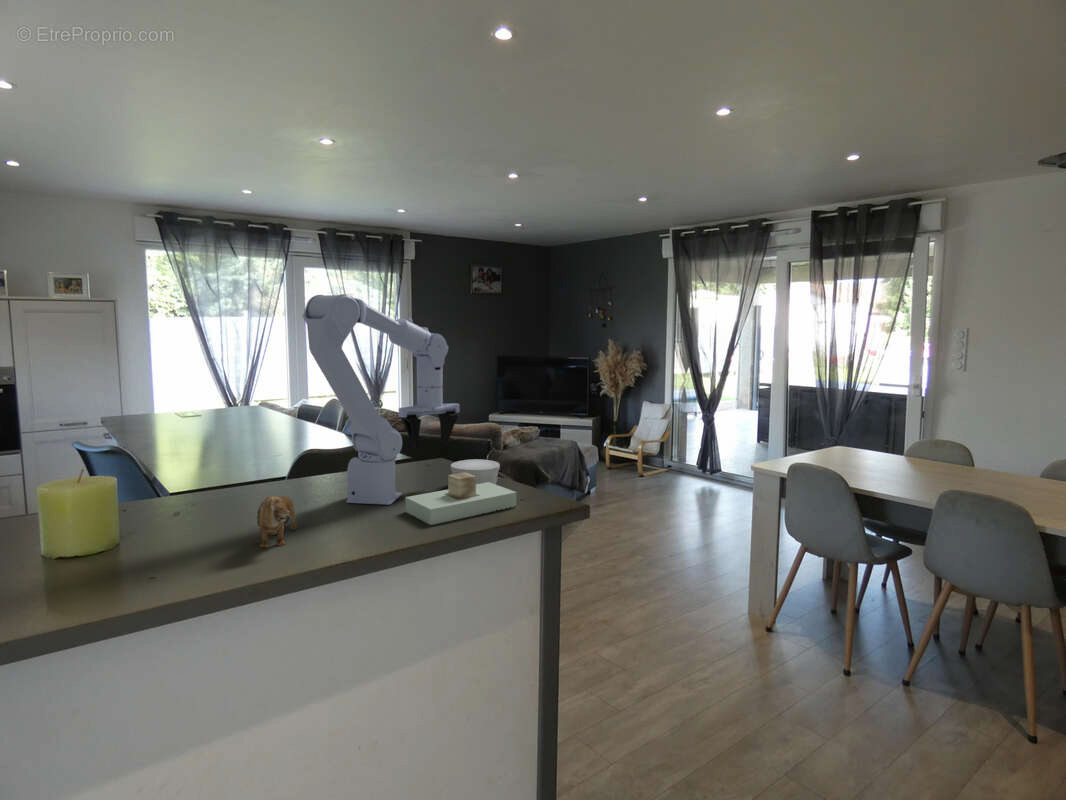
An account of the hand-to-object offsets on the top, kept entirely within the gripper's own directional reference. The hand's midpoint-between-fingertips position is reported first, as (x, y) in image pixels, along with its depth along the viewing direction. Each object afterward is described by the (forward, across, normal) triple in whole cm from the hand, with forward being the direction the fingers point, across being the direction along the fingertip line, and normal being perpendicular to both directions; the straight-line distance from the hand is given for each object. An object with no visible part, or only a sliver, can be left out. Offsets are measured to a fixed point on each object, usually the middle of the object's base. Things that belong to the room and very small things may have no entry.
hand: (430, 446), depth 142 cm
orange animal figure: (+10, -38, -16) cm, 42 cm away
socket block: (+9, -4, -19) cm, 22 cm away
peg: (+10, -4, -19) cm, 22 cm away
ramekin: (+10, +8, -6) cm, 14 cm away
